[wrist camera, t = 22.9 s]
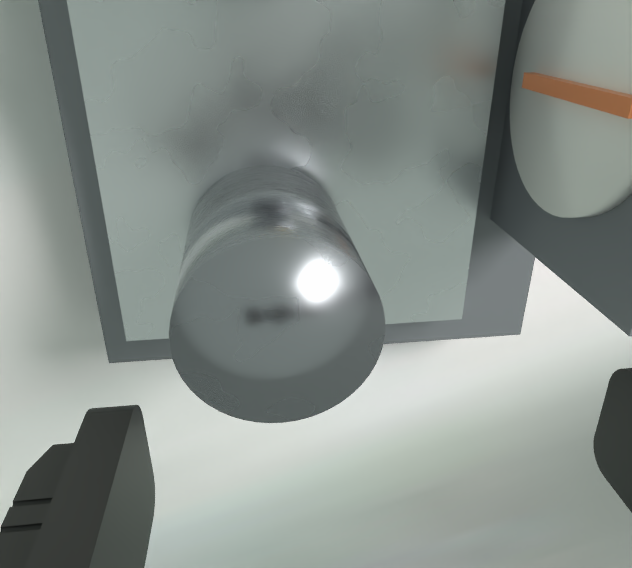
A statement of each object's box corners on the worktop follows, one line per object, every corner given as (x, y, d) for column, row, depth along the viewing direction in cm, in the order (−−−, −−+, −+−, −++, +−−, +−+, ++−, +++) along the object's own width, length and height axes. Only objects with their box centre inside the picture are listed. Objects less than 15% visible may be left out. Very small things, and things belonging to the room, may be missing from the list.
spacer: (343, 162, 18) (391, 232, 12) (340, 303, 20) (379, 414, 14) (180, 167, 17) (155, 242, 12) (195, 312, 19) (181, 431, 14)
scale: (586, -307, 16) (1109, -767, 7) (490, 299, 25) (651, 485, 16) (5, -349, 14) (-468, -1079, 5) (123, 322, 23) (44, 549, 14)
